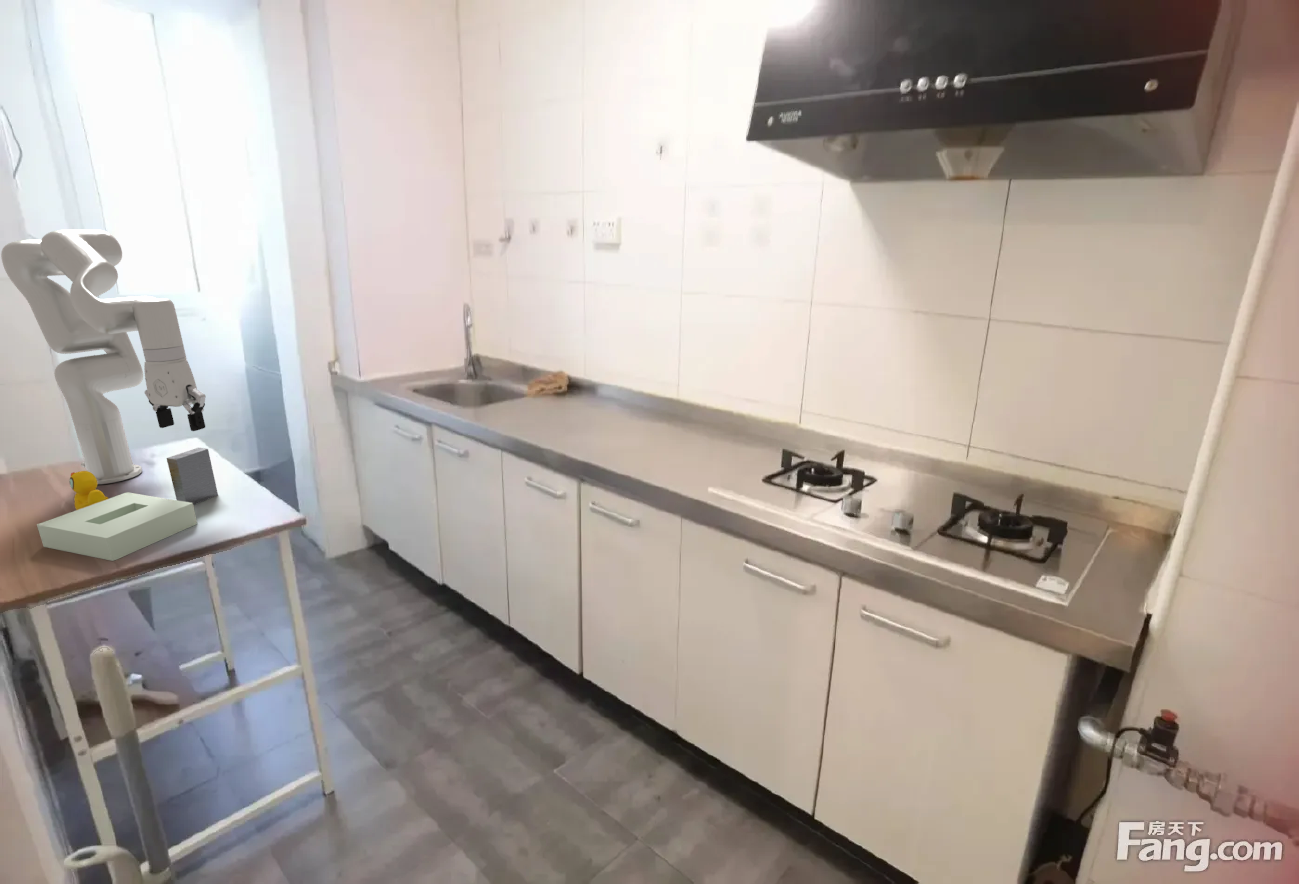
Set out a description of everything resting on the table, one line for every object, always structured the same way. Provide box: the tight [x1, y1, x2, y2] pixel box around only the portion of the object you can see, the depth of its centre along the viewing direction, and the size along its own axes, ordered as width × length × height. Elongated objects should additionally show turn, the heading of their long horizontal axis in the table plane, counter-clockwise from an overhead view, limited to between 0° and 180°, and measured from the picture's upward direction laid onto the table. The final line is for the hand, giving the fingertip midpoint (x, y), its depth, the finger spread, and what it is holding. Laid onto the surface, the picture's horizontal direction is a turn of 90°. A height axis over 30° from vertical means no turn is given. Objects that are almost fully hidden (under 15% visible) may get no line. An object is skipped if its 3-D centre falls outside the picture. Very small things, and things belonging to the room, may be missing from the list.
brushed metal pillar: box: [166, 447, 219, 506], centre depth 157 cm, size 3×8×12 cm, turn 162°
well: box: [36, 491, 198, 562], centre depth 140 cm, size 20×18×5 cm
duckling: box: [68, 470, 109, 511], centre depth 150 cm, size 11×5×10 cm, turn 59°
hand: (182, 427), depth 153 cm, fingers open, 9 cm apart
